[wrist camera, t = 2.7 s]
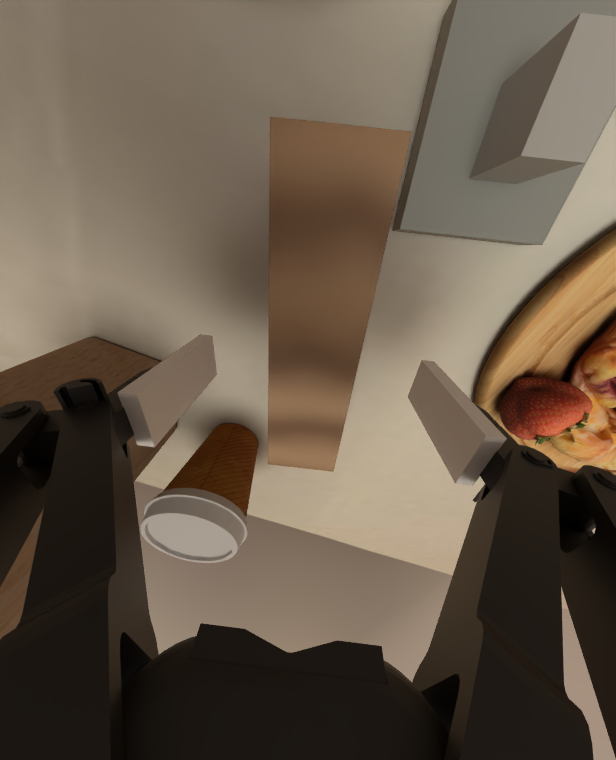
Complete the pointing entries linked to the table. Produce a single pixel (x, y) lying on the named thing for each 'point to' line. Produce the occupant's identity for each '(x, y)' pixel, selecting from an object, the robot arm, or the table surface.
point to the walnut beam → (323, 275)
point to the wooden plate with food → (561, 366)
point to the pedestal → (509, 117)
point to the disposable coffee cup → (206, 500)
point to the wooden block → (38, 383)
